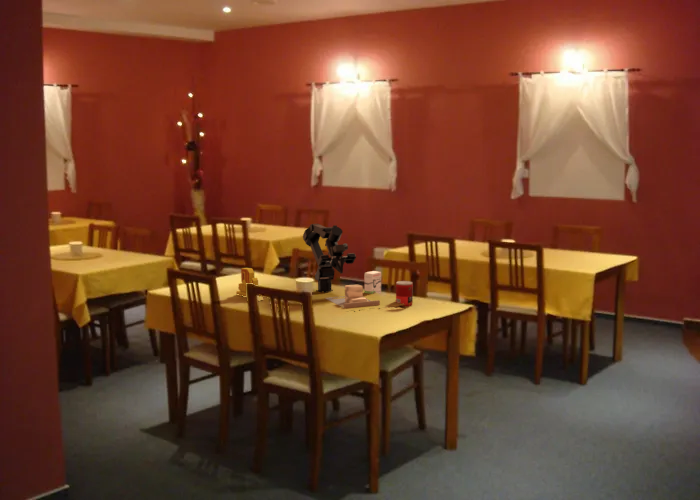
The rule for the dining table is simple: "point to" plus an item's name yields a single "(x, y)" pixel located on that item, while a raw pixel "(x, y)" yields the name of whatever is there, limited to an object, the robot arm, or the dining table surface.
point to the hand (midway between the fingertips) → (341, 273)
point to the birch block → (354, 294)
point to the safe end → (360, 304)
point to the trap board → (338, 300)
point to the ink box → (372, 282)
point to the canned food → (404, 292)
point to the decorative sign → (246, 280)
